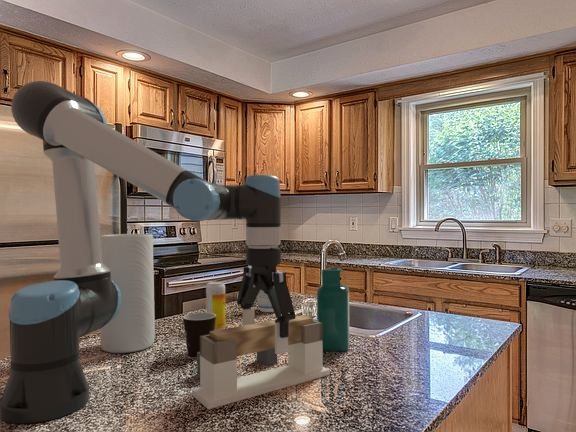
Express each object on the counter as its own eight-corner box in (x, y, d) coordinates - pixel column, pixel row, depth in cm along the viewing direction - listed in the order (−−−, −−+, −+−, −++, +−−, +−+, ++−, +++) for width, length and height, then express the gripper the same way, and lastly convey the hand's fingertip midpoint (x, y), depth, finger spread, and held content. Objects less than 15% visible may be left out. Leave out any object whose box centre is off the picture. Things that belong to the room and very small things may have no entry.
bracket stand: (208, 409, 81) (207, 346, 81) (192, 395, 88) (191, 336, 88) (329, 374, 98) (329, 322, 98) (308, 364, 105) (308, 315, 105)
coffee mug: (209, 360, 109) (208, 320, 109) (177, 358, 111) (177, 319, 111) (224, 346, 121) (224, 310, 121) (196, 344, 122) (195, 309, 122)
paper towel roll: (95, 356, 113) (94, 236, 113) (106, 341, 127) (105, 234, 127) (152, 352, 116) (151, 235, 116) (157, 337, 130) (156, 233, 130)
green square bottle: (320, 341, 124) (319, 265, 124) (349, 343, 123) (349, 266, 123) (315, 352, 115) (315, 269, 115) (347, 354, 113) (346, 270, 113)
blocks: (206, 380, 95) (205, 358, 95) (197, 373, 100) (197, 352, 100) (277, 363, 106) (277, 343, 106) (266, 357, 110) (266, 338, 110)
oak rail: (217, 360, 85) (217, 335, 85) (209, 355, 88) (209, 331, 88) (313, 339, 98) (312, 318, 98) (303, 336, 101) (303, 315, 101)
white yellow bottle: (229, 328, 140) (229, 282, 140) (216, 332, 135) (216, 285, 135) (215, 326, 143) (215, 281, 143) (202, 330, 138) (202, 283, 138)
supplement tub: (284, 312, 162) (284, 273, 162) (260, 313, 160) (259, 274, 160) (280, 307, 172) (279, 270, 172) (256, 308, 170) (256, 271, 170)
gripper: (312, 249, 85) (313, 356, 85) (250, 243, 105) (250, 329, 105) (281, 251, 81) (281, 364, 81) (222, 244, 101) (222, 334, 101)
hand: (264, 344), depth 93 cm, fingers open, 13 cm apart
